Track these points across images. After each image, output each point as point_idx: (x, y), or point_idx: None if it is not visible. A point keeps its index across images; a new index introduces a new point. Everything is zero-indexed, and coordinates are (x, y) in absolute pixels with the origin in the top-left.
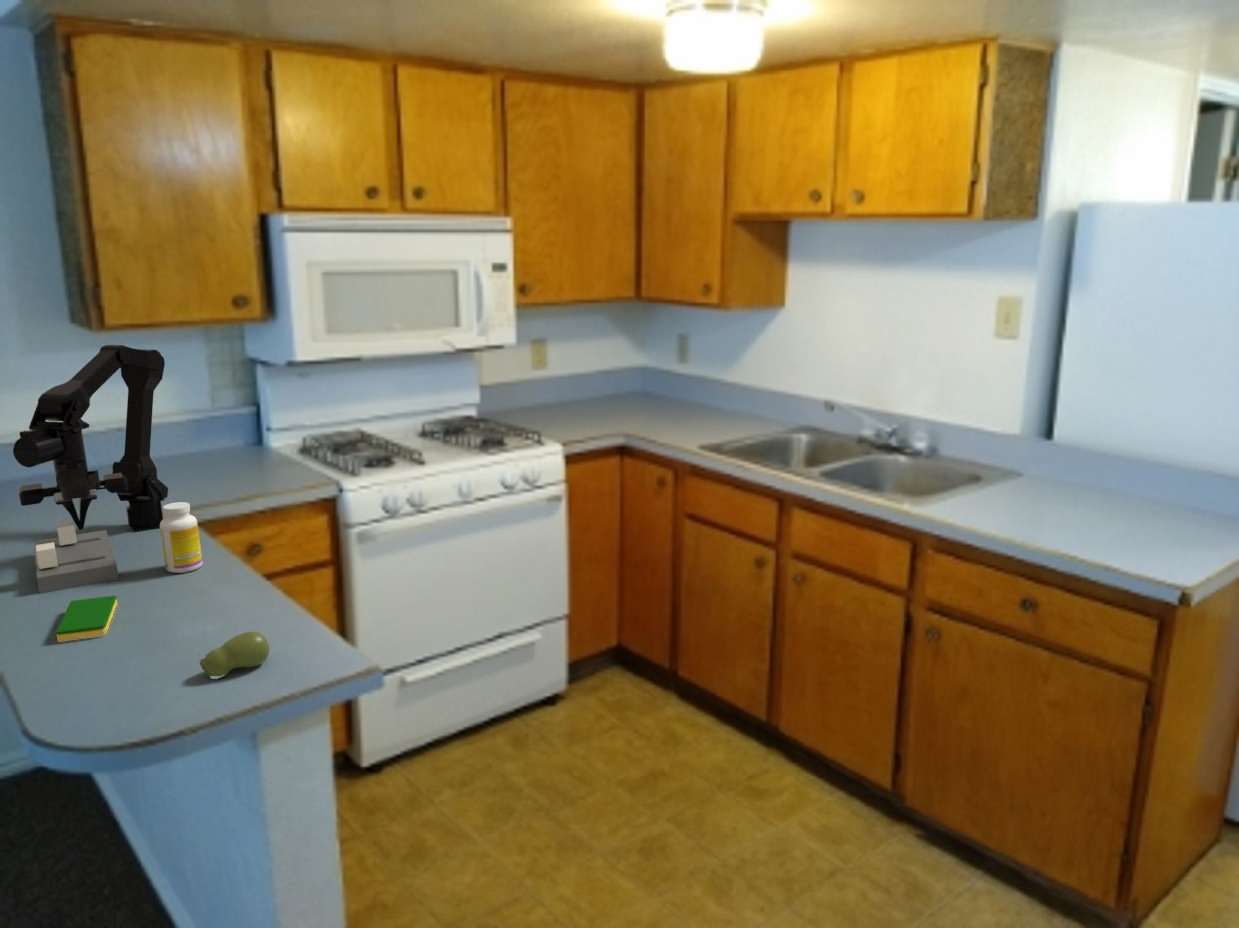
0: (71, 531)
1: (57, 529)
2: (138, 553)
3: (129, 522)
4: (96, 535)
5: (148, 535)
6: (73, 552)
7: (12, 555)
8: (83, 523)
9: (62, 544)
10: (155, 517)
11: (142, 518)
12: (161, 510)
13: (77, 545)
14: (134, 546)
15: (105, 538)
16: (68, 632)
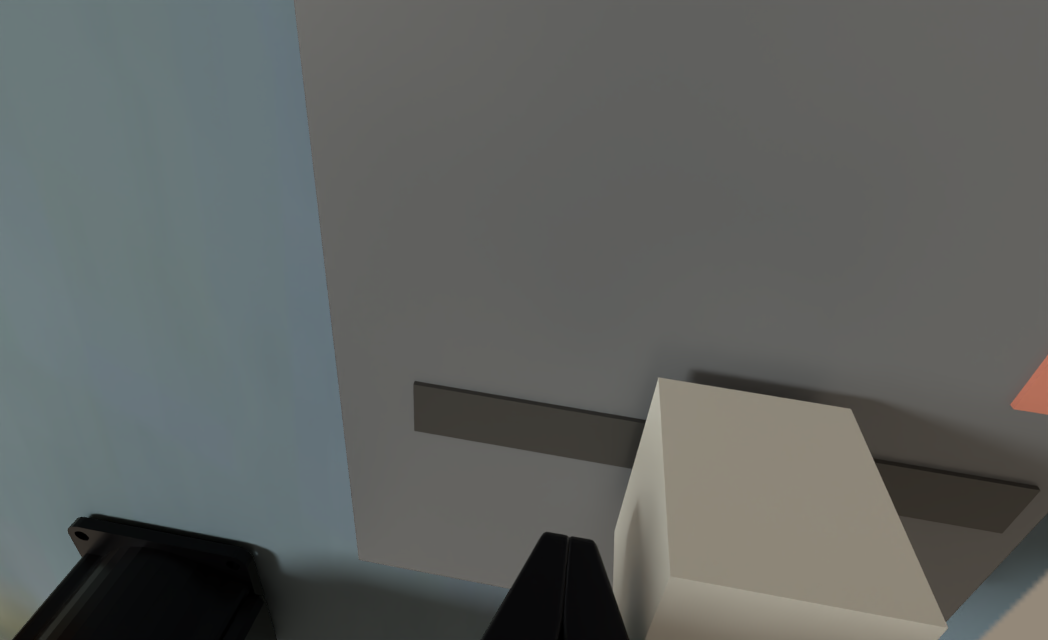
0: (718, 513)
1: (939, 614)
2: (146, 70)
3: (244, 626)
4: (439, 499)
5: (152, 449)
6: (813, 82)
7: (973, 631)
8: (517, 601)
9: (824, 408)
10: (80, 595)
11: (146, 614)
12: (17, 634)
13: (661, 347)
14: (213, 296)
15: (366, 376)
16: None
